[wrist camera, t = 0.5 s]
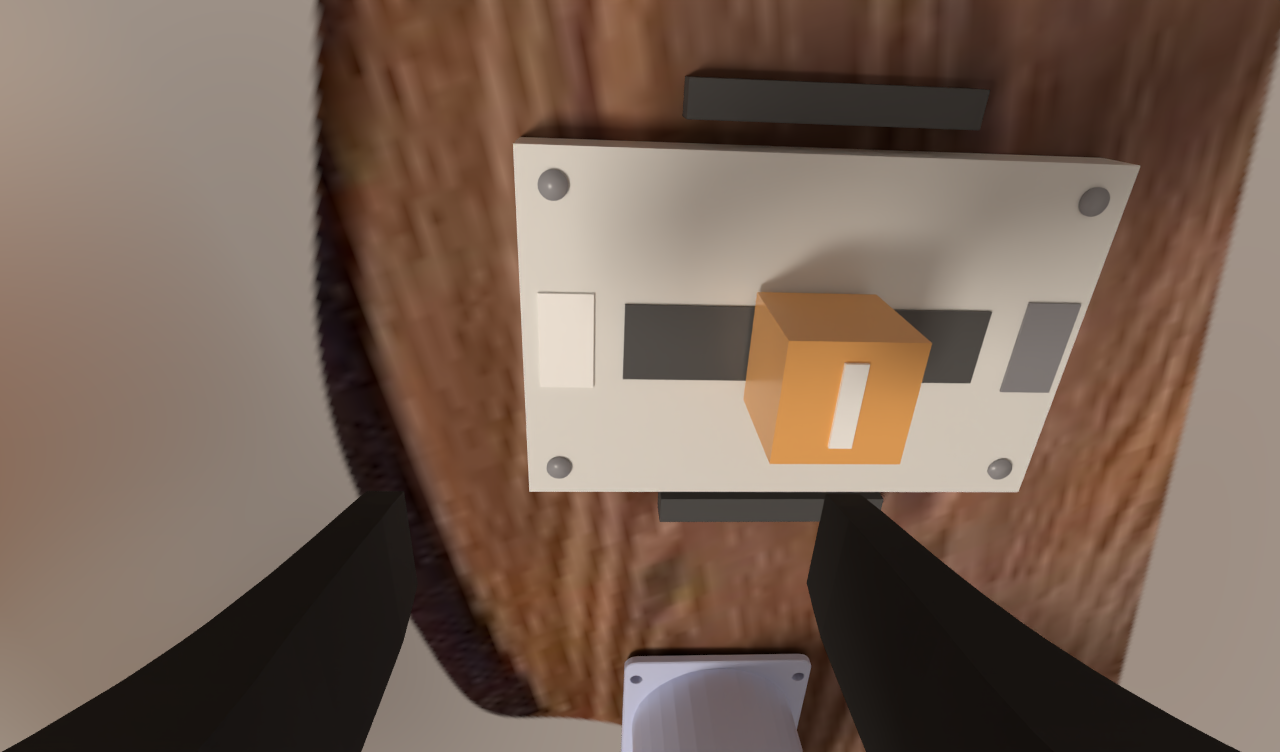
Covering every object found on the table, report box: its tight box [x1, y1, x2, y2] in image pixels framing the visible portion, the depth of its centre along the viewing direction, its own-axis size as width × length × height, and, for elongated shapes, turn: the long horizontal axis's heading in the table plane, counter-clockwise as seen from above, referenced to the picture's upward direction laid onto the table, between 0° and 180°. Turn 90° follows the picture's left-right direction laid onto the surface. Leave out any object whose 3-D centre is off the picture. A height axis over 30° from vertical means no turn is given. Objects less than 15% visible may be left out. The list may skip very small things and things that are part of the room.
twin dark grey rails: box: [658, 76, 990, 522], centre depth 20 cm, size 14×8×1 cm, turn 178°
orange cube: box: [743, 292, 932, 464], centre depth 17 cm, size 4×4×4 cm
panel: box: [513, 137, 1140, 492], centre depth 20 cm, size 11×17×2 cm, turn 88°
